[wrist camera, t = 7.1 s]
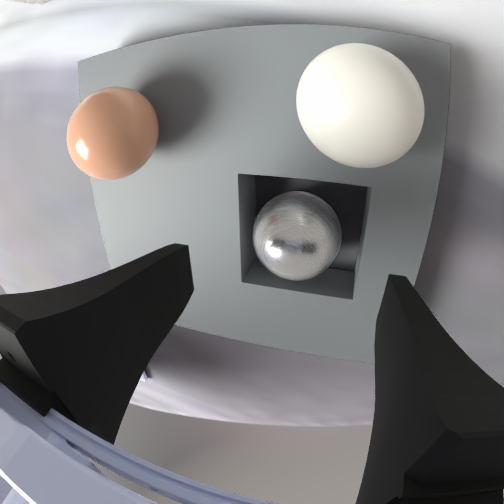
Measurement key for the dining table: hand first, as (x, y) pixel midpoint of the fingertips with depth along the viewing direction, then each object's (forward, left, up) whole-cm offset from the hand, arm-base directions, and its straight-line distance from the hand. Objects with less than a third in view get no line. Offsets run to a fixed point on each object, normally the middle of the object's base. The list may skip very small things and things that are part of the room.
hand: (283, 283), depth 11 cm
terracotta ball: (-7, +5, -1) cm, 9 cm away
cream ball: (+2, +6, -1) cm, 6 cm away
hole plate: (-3, +1, -6) cm, 7 cm away
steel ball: (0, 0, -4) cm, 4 cm away
